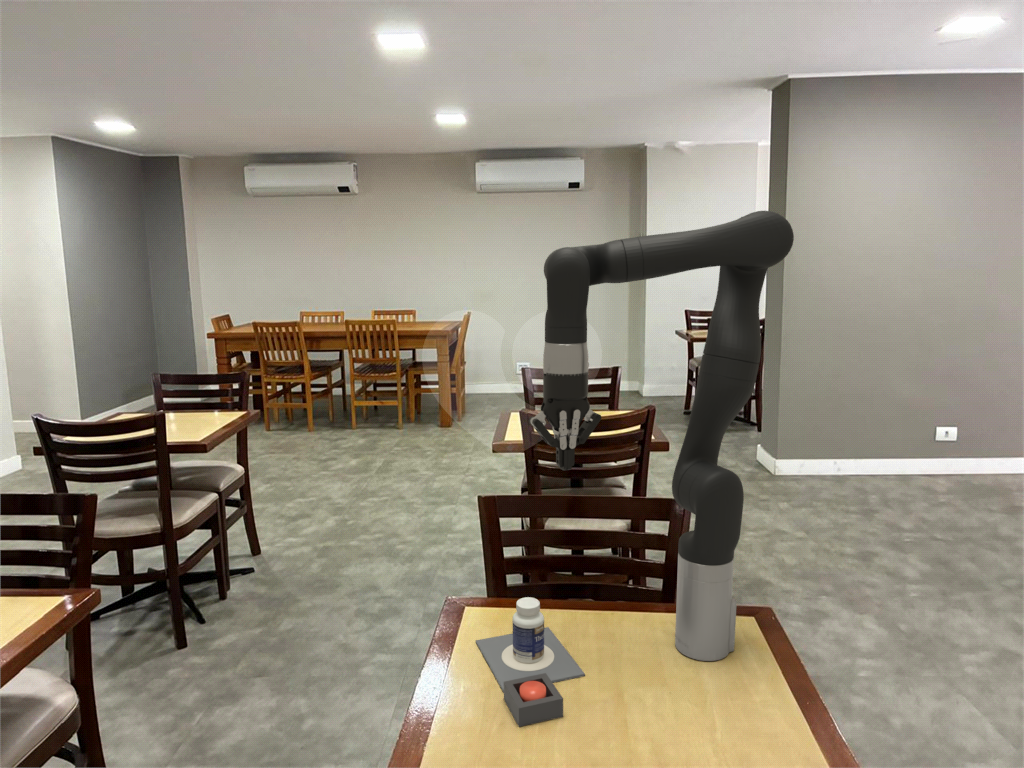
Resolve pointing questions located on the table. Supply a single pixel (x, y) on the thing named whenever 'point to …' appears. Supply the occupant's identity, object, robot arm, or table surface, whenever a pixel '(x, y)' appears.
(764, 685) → the table surface
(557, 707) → the button housing
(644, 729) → the table surface
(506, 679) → the grey mat
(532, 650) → the pill bottle
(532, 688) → the button
